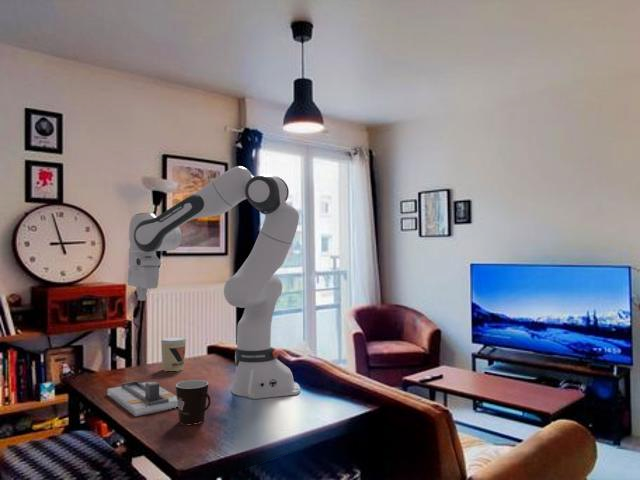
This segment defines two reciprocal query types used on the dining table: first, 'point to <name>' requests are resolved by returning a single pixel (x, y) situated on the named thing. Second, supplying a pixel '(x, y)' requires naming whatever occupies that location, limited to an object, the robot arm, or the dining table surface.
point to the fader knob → (152, 390)
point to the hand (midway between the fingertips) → (141, 300)
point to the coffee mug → (192, 400)
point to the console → (141, 398)
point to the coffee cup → (173, 353)
